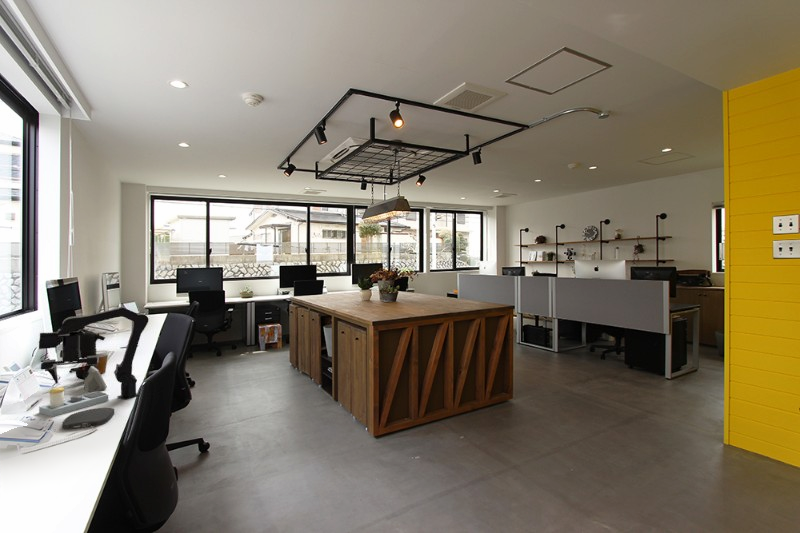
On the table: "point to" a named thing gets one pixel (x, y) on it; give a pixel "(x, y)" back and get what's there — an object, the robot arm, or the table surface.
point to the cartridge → (56, 397)
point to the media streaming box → (88, 418)
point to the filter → (87, 349)
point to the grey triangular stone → (94, 380)
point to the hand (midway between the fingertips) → (70, 381)
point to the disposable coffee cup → (102, 361)
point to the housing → (71, 405)
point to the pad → (94, 394)
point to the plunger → (76, 398)
